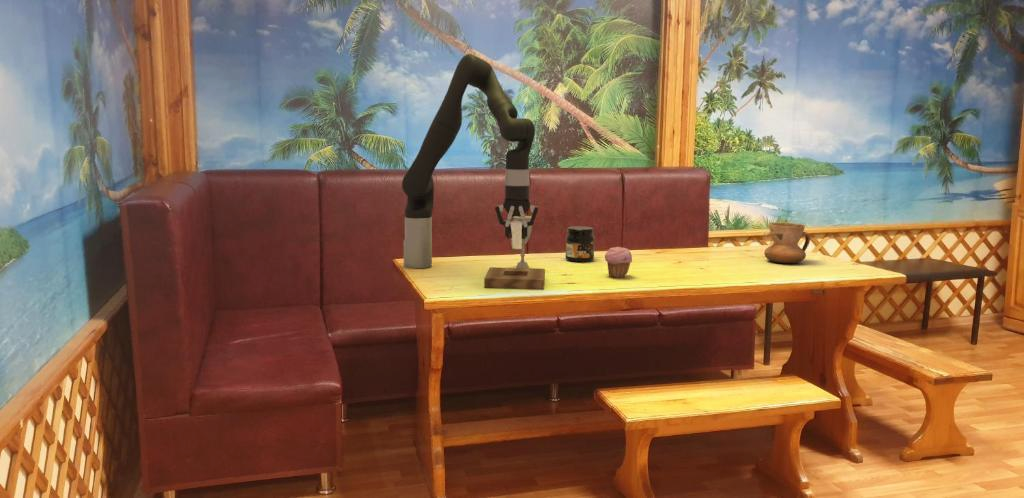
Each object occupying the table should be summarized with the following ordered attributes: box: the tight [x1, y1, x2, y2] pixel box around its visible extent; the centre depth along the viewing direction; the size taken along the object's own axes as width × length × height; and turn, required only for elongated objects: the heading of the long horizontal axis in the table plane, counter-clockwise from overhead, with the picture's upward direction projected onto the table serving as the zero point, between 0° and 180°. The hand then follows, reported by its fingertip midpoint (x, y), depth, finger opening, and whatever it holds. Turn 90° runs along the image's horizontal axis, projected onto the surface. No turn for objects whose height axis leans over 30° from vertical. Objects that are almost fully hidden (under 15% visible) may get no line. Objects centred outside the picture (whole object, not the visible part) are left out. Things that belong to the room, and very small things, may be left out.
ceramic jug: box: [763, 221, 811, 265], centre depth 293 cm, size 18×14×14 cm
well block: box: [483, 266, 546, 290], centre depth 251 cm, size 18×18×3 cm
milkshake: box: [509, 219, 524, 250], centre depth 249 cm, size 4×5×10 cm
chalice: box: [512, 215, 533, 268], centre depth 272 cm, size 7×7×18 cm
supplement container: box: [565, 225, 596, 263], centre depth 291 cm, size 10×10×12 cm
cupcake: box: [604, 246, 633, 279], centre depth 262 cm, size 9×9×10 cm
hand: (516, 238), depth 249 cm, fingers closed on milkshake, 4 cm apart
